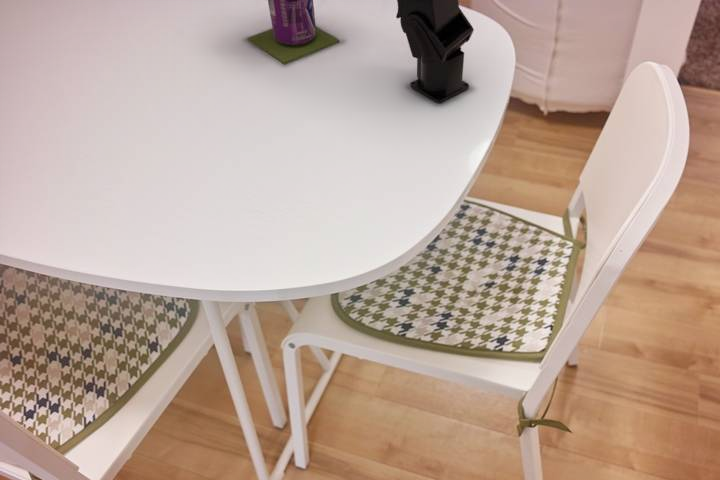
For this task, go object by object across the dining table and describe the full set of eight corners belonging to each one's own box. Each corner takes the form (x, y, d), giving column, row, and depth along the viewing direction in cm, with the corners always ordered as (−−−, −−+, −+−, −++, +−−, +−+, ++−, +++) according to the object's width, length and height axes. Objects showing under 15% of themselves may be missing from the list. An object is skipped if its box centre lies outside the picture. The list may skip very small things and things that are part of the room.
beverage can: (309, 50, 99) (300, -26, 91) (268, 46, 100) (255, -30, 92) (322, 30, 104) (314, -44, 95) (282, 26, 105) (271, -47, 96)
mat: (339, 42, 102) (339, 39, 102) (284, 64, 97) (284, 62, 97) (301, 20, 108) (301, 17, 107) (247, 40, 103) (247, 37, 102)
